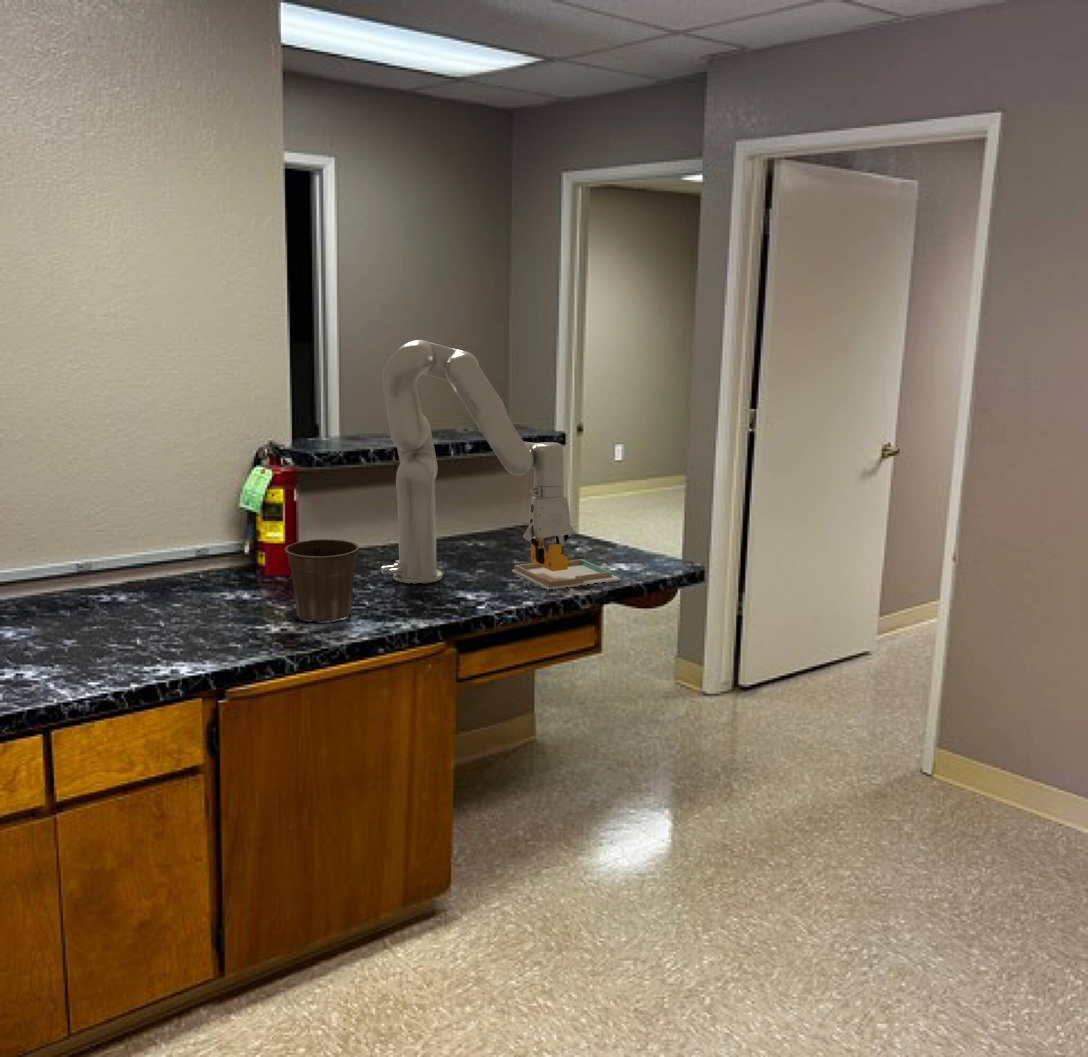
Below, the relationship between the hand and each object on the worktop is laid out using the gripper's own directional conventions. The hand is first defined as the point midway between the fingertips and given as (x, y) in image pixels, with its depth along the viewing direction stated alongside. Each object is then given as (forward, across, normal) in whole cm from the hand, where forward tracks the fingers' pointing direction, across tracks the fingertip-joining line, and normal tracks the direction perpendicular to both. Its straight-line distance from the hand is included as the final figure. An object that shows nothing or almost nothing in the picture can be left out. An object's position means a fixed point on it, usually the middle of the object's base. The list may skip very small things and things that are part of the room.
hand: (549, 560), depth 276 cm
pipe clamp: (+1, 0, 0) cm, 1 cm away
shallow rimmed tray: (+5, +5, 0) cm, 7 cm away
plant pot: (+4, -61, -7) cm, 62 cm away
